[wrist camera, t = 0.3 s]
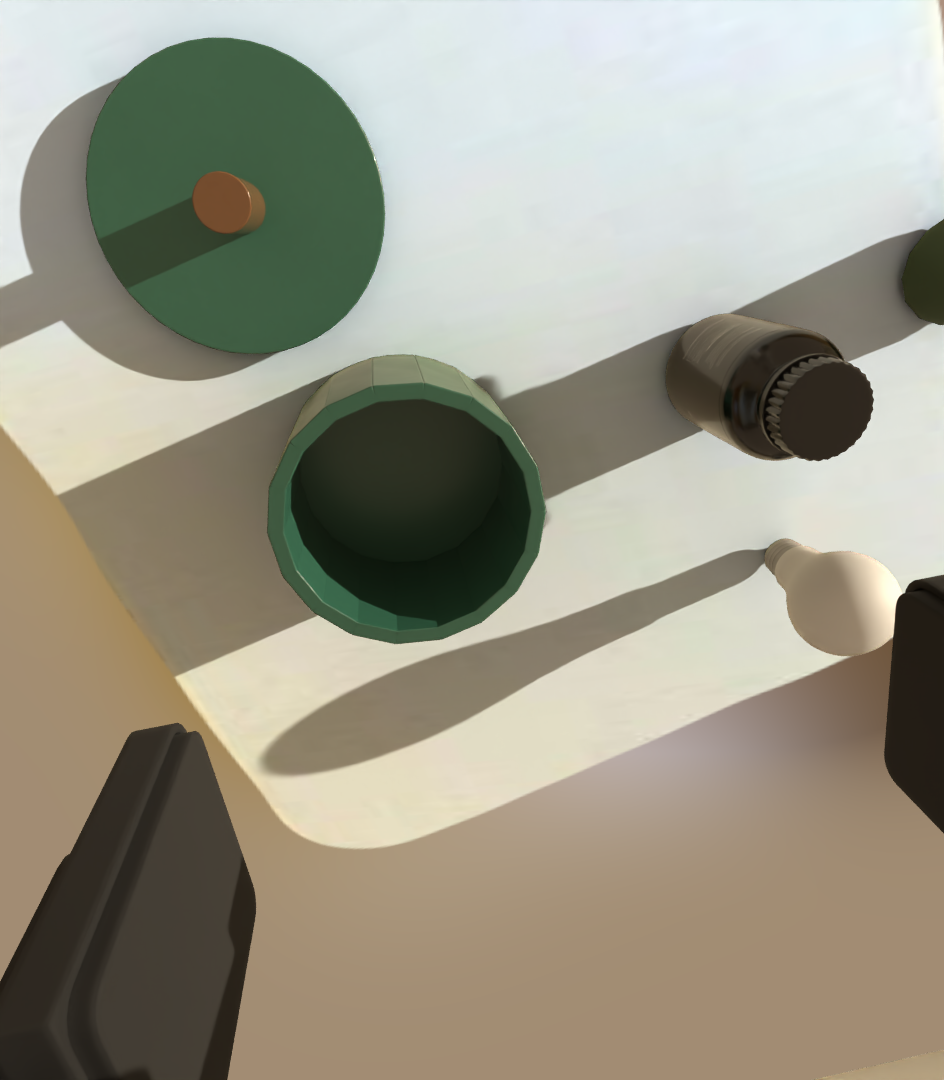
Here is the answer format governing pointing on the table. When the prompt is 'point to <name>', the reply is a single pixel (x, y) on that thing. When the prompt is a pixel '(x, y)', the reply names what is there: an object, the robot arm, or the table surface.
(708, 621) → the table surface
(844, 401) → the supplement bottle
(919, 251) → the trophy cup
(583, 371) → the table surface
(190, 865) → the robot arm
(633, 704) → the table surface
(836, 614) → the lightbulb
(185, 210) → the tin lid
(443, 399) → the tin
